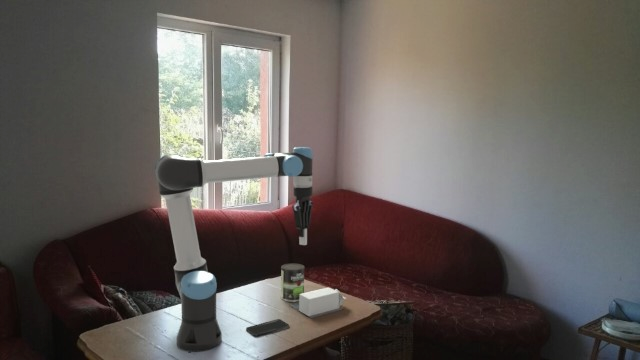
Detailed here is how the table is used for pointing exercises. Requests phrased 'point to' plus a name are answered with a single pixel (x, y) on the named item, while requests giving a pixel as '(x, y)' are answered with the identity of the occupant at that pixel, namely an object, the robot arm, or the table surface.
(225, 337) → the table surface
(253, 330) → the phone
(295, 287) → the coffee can
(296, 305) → the mat
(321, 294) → the milk carton
